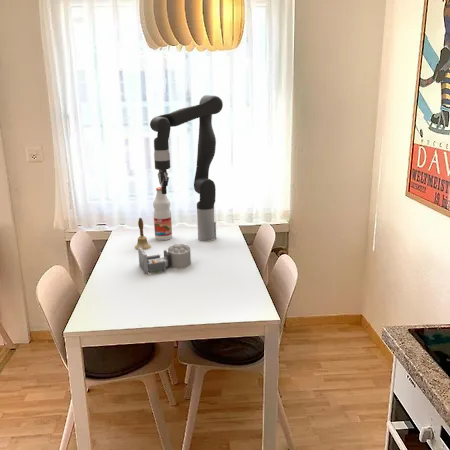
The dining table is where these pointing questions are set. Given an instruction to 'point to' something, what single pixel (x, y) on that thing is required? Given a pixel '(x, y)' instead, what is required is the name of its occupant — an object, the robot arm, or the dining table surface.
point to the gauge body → (150, 267)
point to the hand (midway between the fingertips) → (164, 193)
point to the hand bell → (142, 237)
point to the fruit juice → (162, 216)
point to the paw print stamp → (179, 256)
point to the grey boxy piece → (161, 259)
